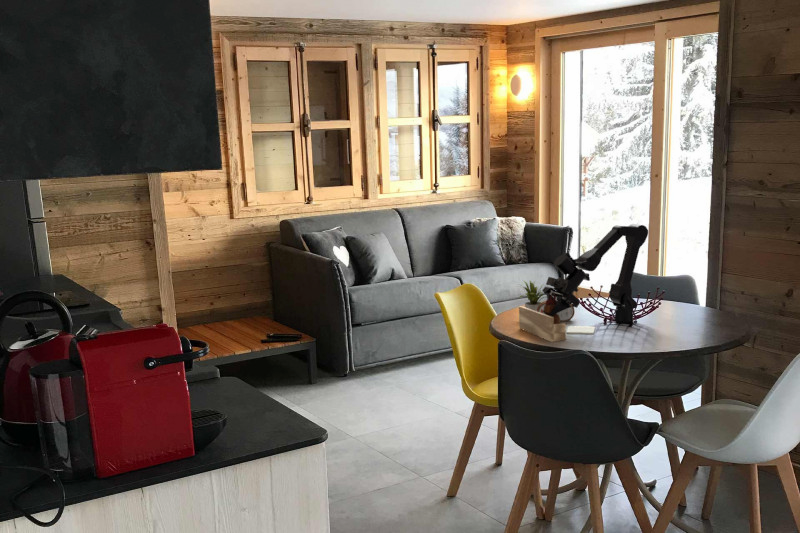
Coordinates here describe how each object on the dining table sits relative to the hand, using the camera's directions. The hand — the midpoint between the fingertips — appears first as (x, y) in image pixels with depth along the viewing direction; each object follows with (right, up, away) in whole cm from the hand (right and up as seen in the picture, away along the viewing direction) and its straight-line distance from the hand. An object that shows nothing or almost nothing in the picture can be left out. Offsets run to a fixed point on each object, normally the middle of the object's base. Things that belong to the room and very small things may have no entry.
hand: (547, 313), depth 300 cm
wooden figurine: (+2, -8, +2) cm, 8 cm away
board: (+13, -7, +2) cm, 15 cm away
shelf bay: (-2, -8, 0) cm, 8 cm away
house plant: (-1, -4, +29) cm, 30 cm away
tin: (+7, -5, +21) cm, 22 cm away
